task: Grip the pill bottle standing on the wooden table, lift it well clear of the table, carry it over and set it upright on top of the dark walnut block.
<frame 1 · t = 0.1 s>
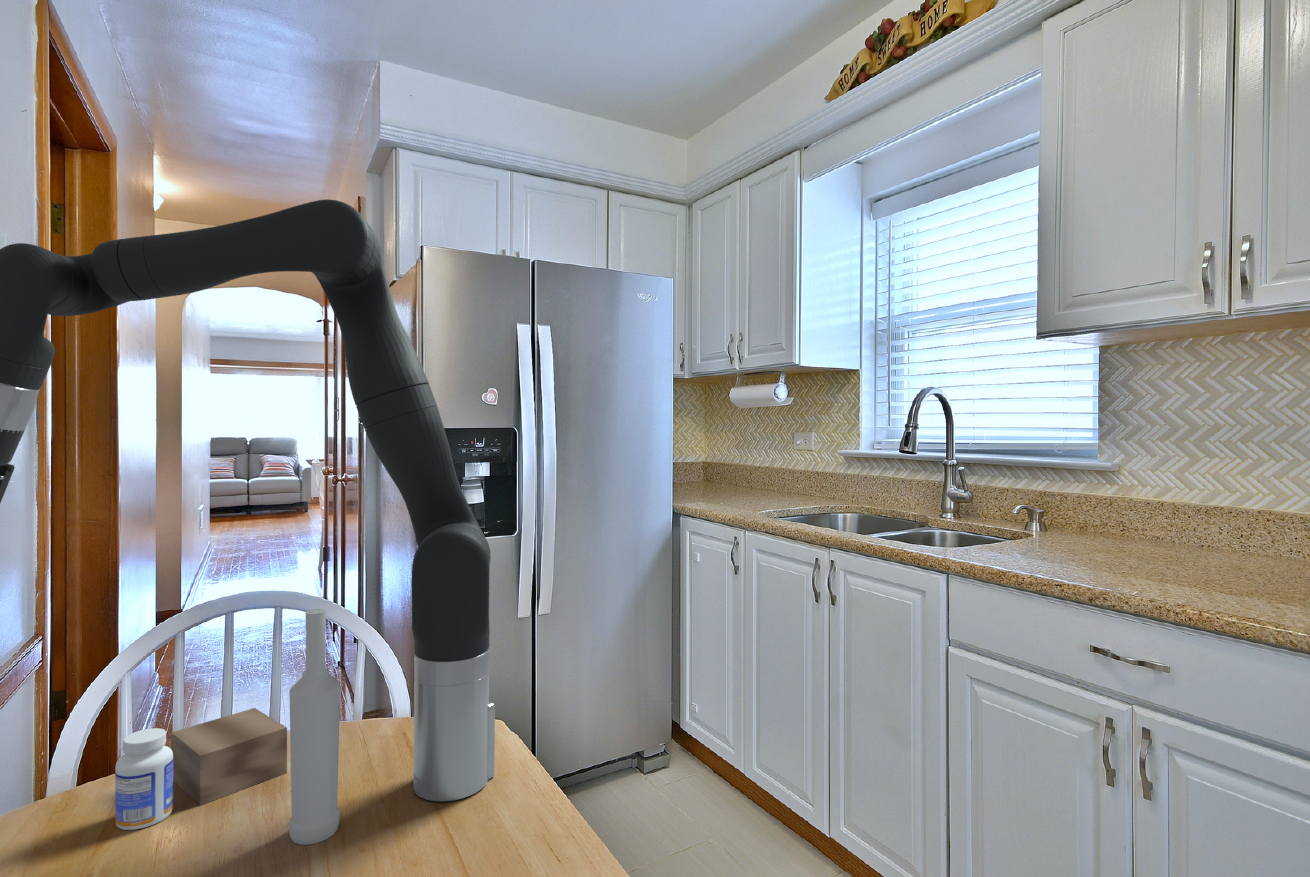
walnut block: (229, 775, 89), on the table
pill bottle: (144, 819, 79), on the table
bottle: (314, 833, 77), on the table
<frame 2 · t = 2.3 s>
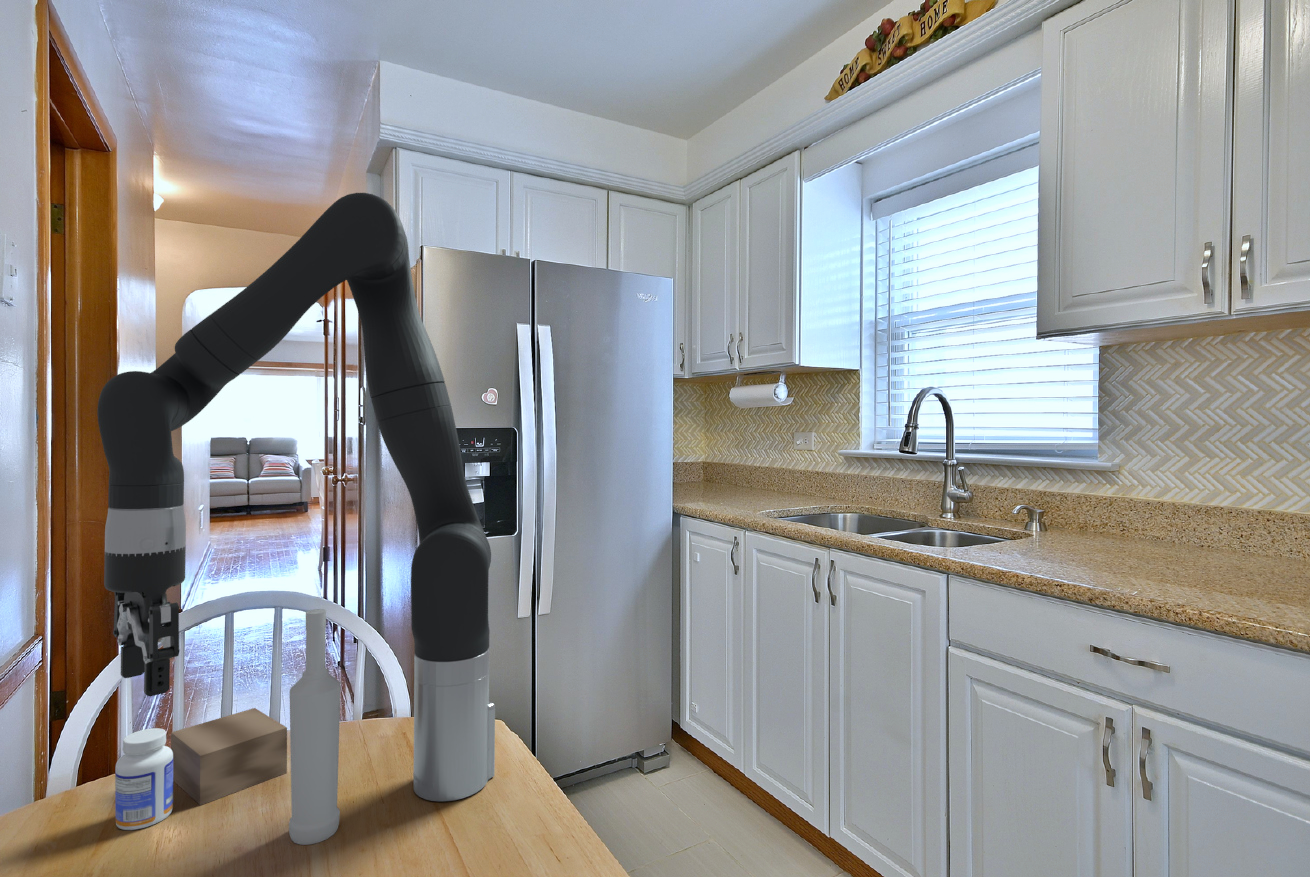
hand: (144, 684, 79), 16 cm above the table, tool pointing down, fingers open, 8 cm apart
nothing on the table moved.
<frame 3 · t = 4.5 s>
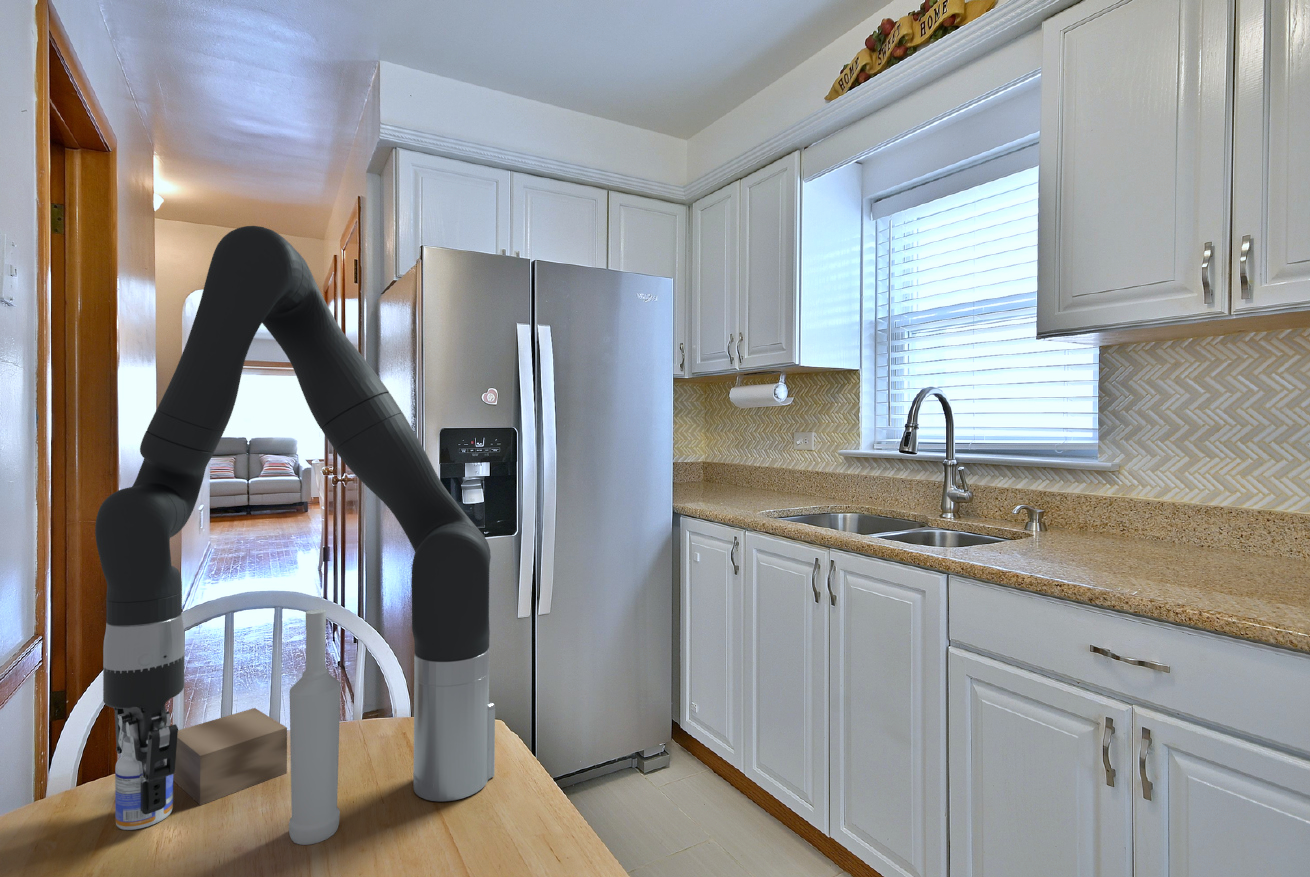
hand: (144, 800, 79), 2 cm above the table, tool pointing down, fingers closed on pill bottle, 5 cm apart
pill bottle: (144, 819, 79), on the table, touching gripper
everything else where it was.
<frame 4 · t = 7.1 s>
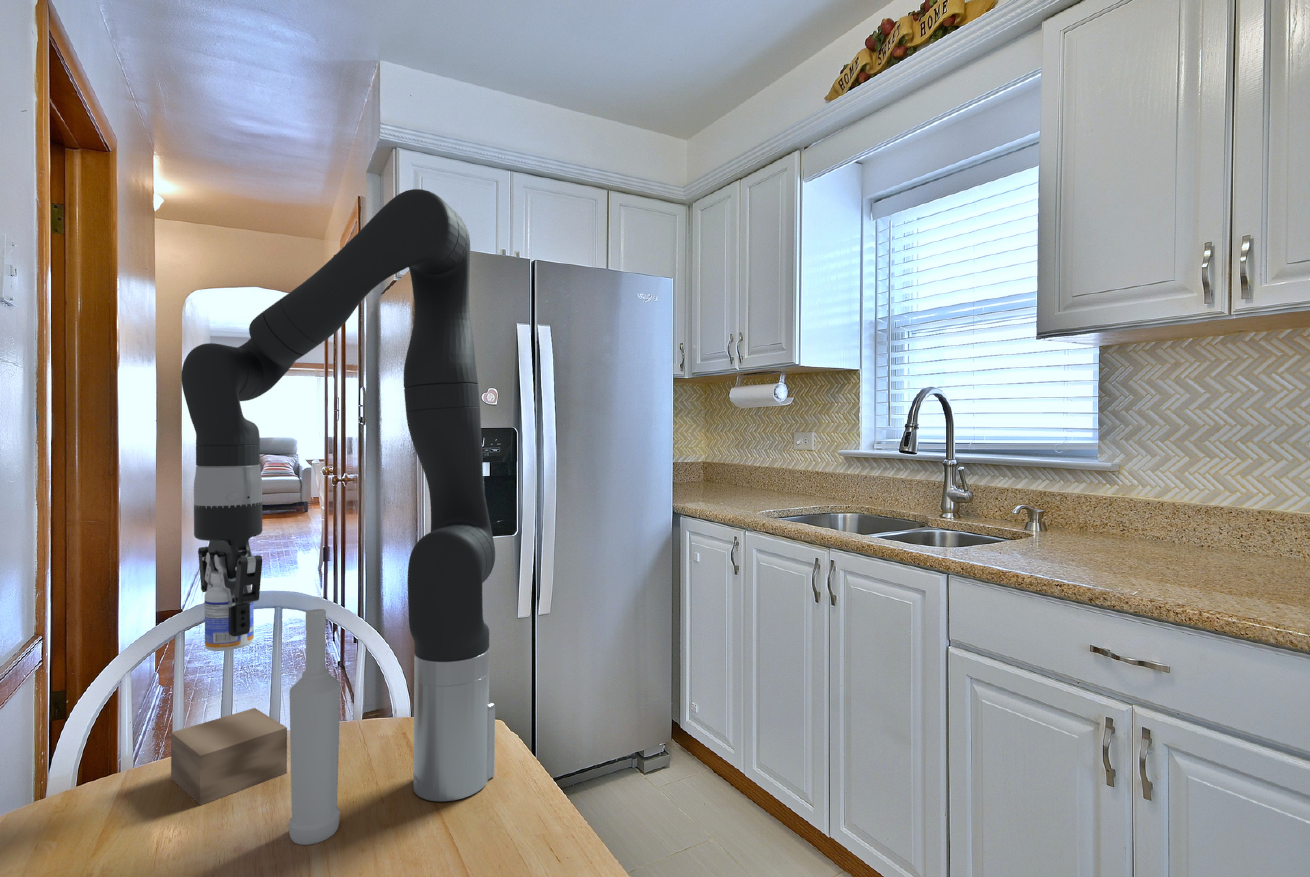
hand: (229, 629, 88), 19 cm above the table, tool pointing down, fingers closed on pill bottle, 5 cm apart
pill bottle: (229, 646, 88), point 17 cm above the table, touching gripper
everything else where it was.
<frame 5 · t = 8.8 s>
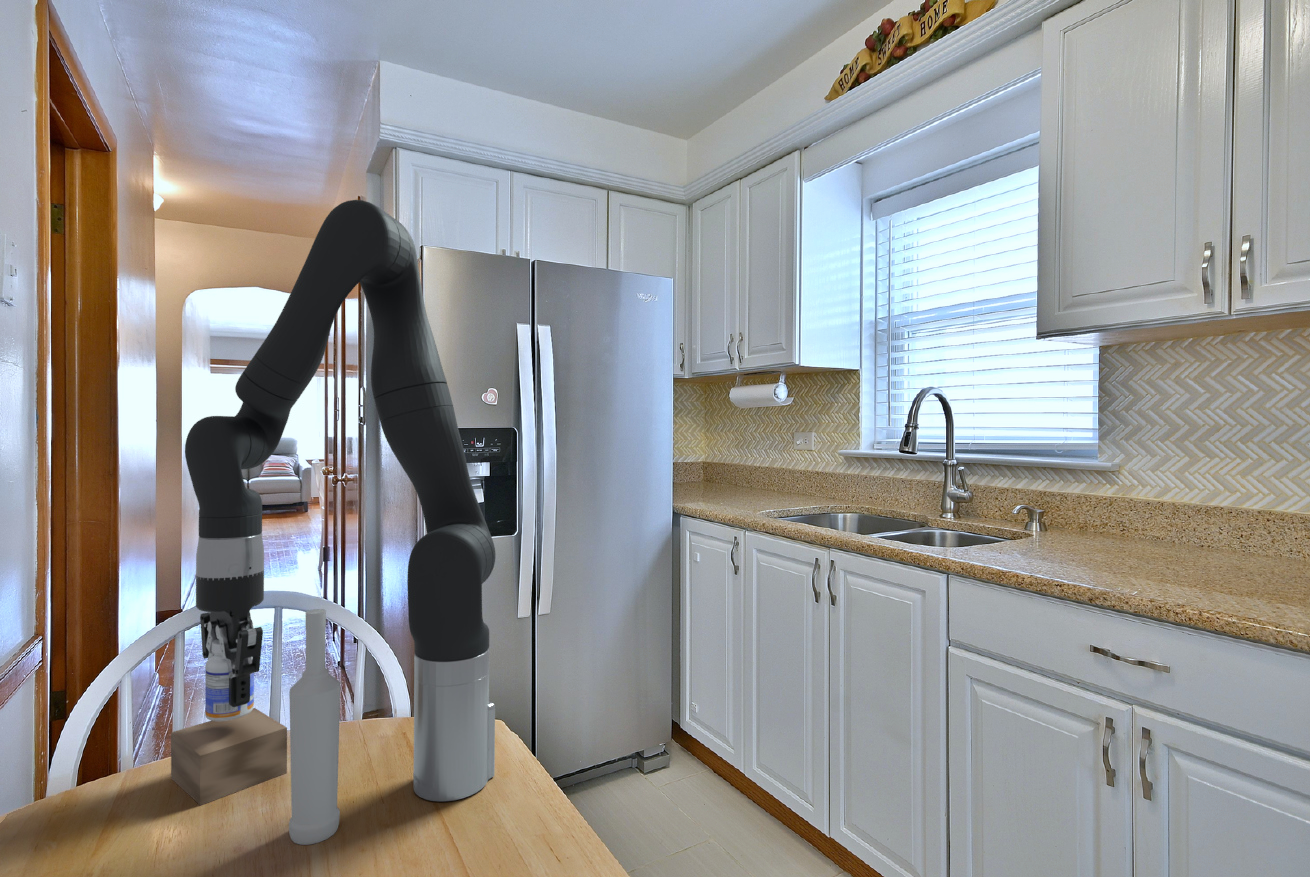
hand: (229, 698, 89), 10 cm above the table, tool pointing down, fingers closed on pill bottle, 5 cm apart
pill bottle: (229, 715, 88), point 8 cm above the table, touching gripper
everything else where it was.
when the fingers open (9 cm above the table, at t = 9.9 s): pill bottle drops 1 cm, resting on walnut block.
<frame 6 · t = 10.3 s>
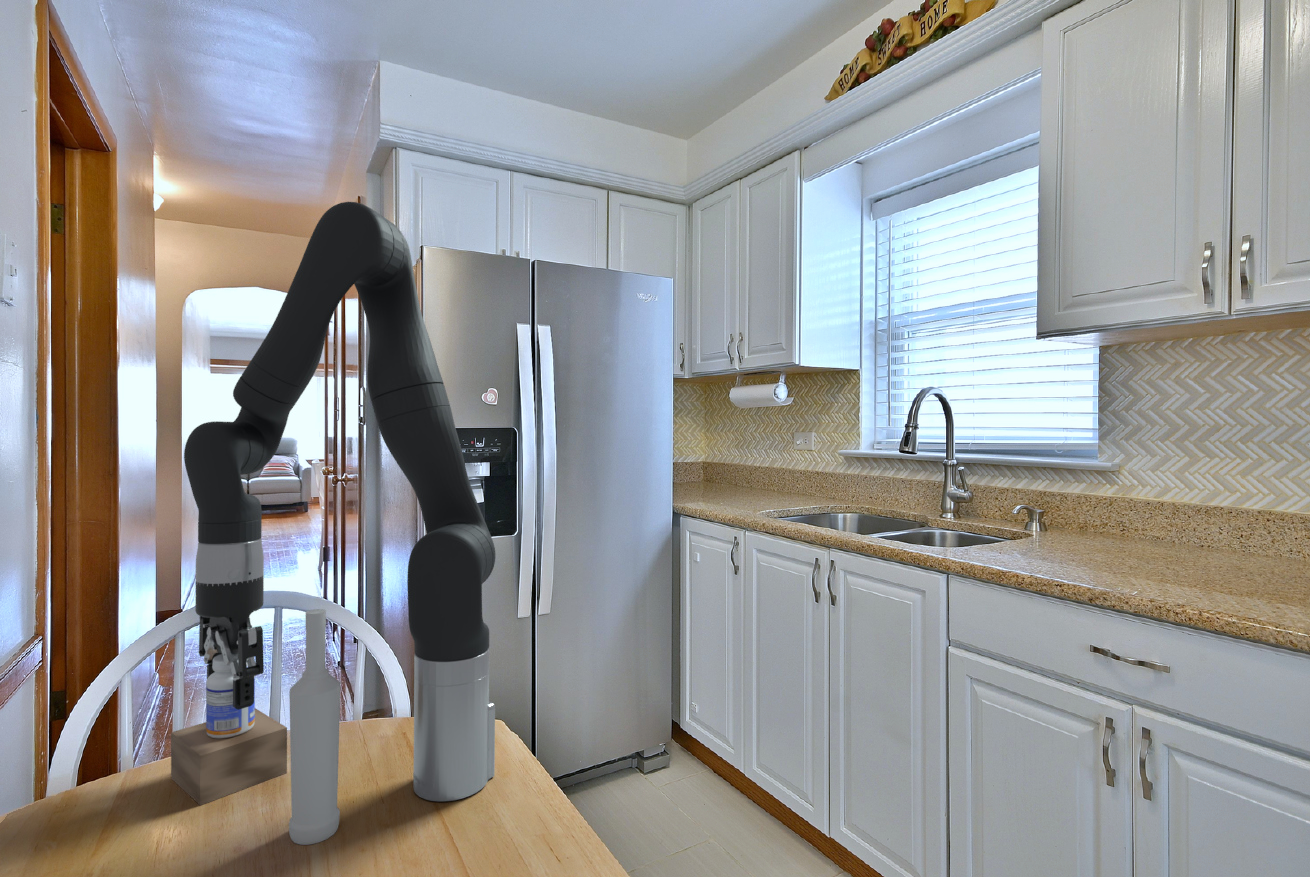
hand: (229, 698, 89), 10 cm above the table, tool pointing down, fingers open, 8 cm apart
pill bottle: (230, 731, 88), point 6 cm above the table, touching walnut block
everything else where it was.
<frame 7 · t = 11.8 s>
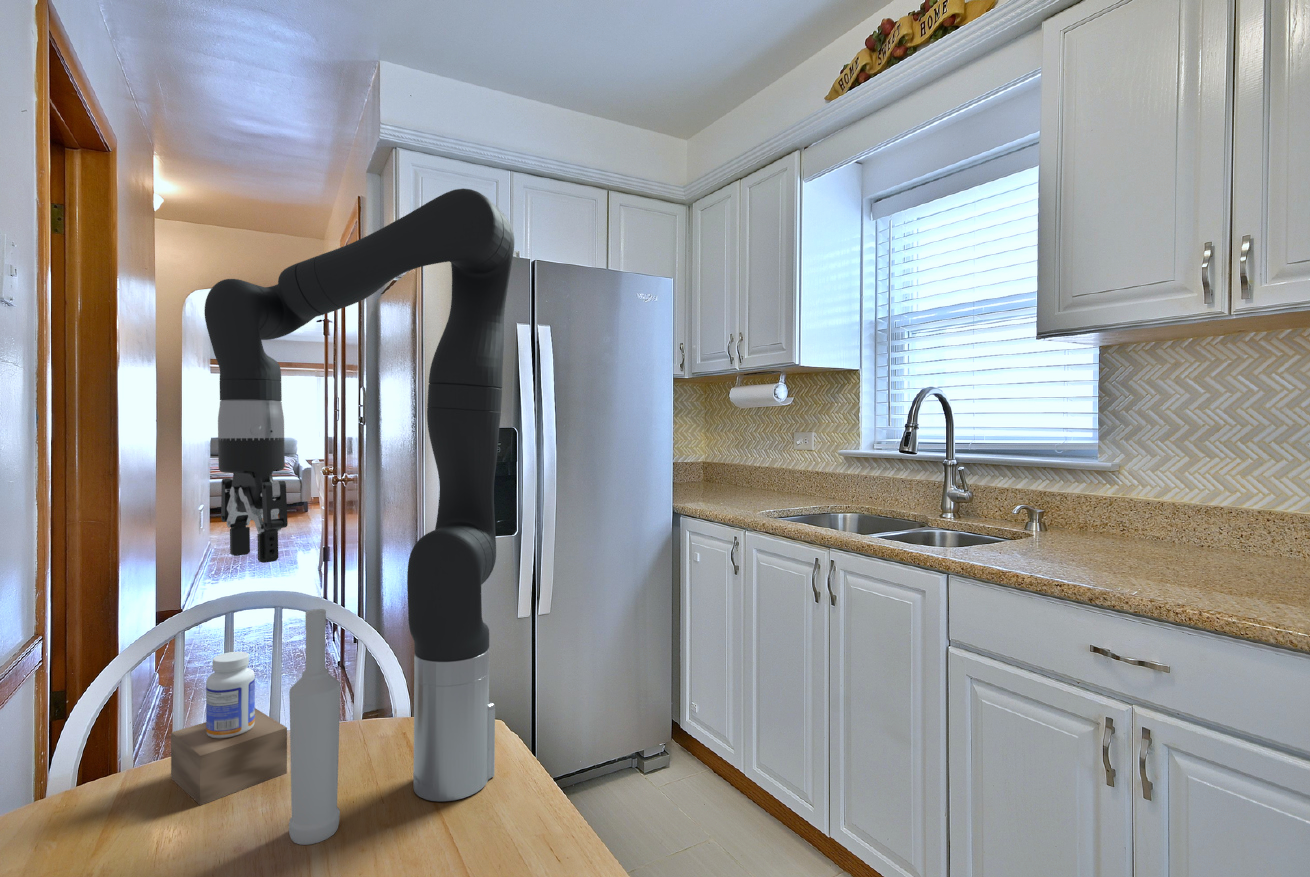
hand: (253, 558, 90), 28 cm above the table, tool pointing down, fingers open, 8 cm apart
nothing on the table moved.
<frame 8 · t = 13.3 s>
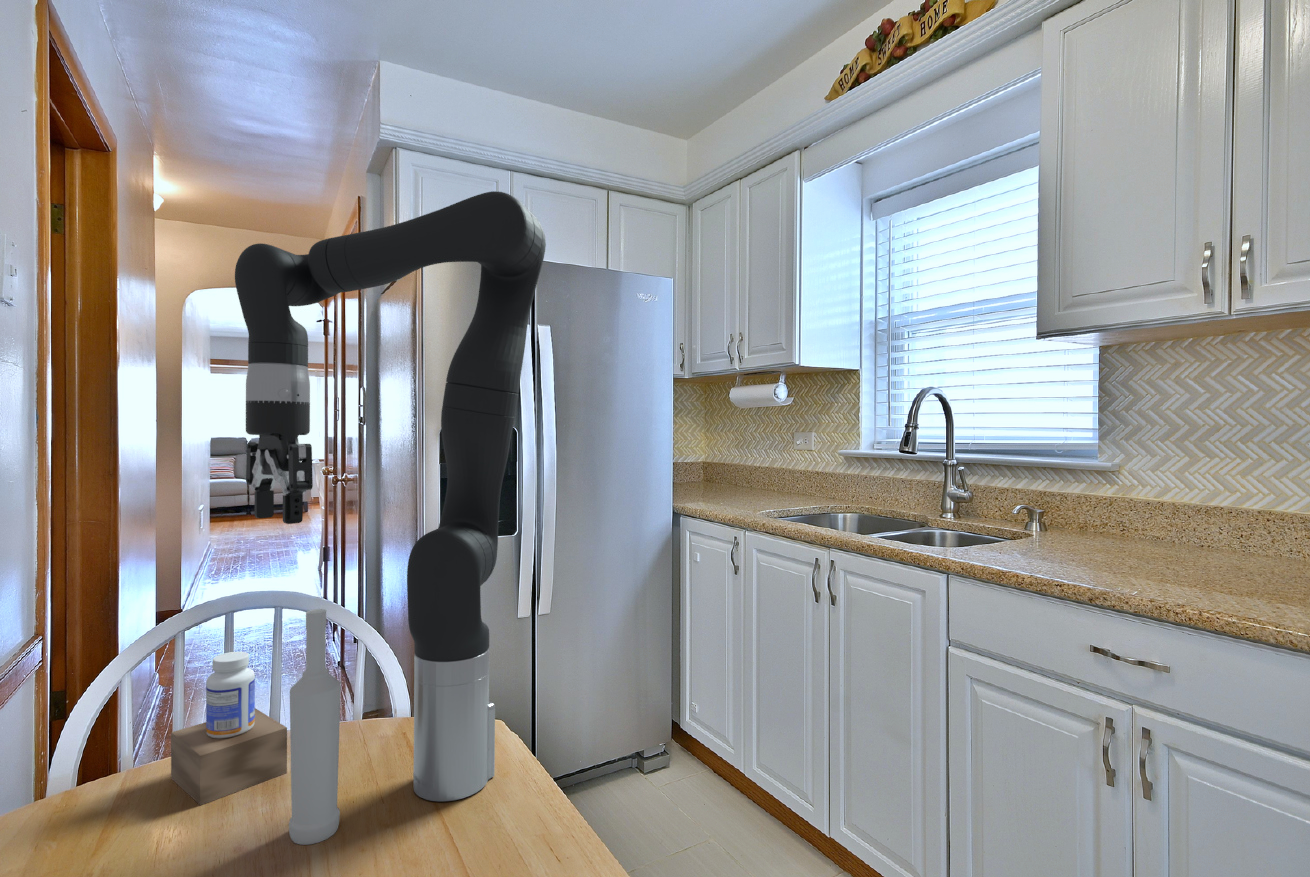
hand: (277, 520, 91), 33 cm above the table, tool pointing down, fingers open, 8 cm apart
nothing on the table moved.
at the end: pill bottle inside the target area on the walnut block (0.2 cm from its centre), point 5.8 cm above the walnut block's base; pill bottle tilted 0°; the gripper is holding nothing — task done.
